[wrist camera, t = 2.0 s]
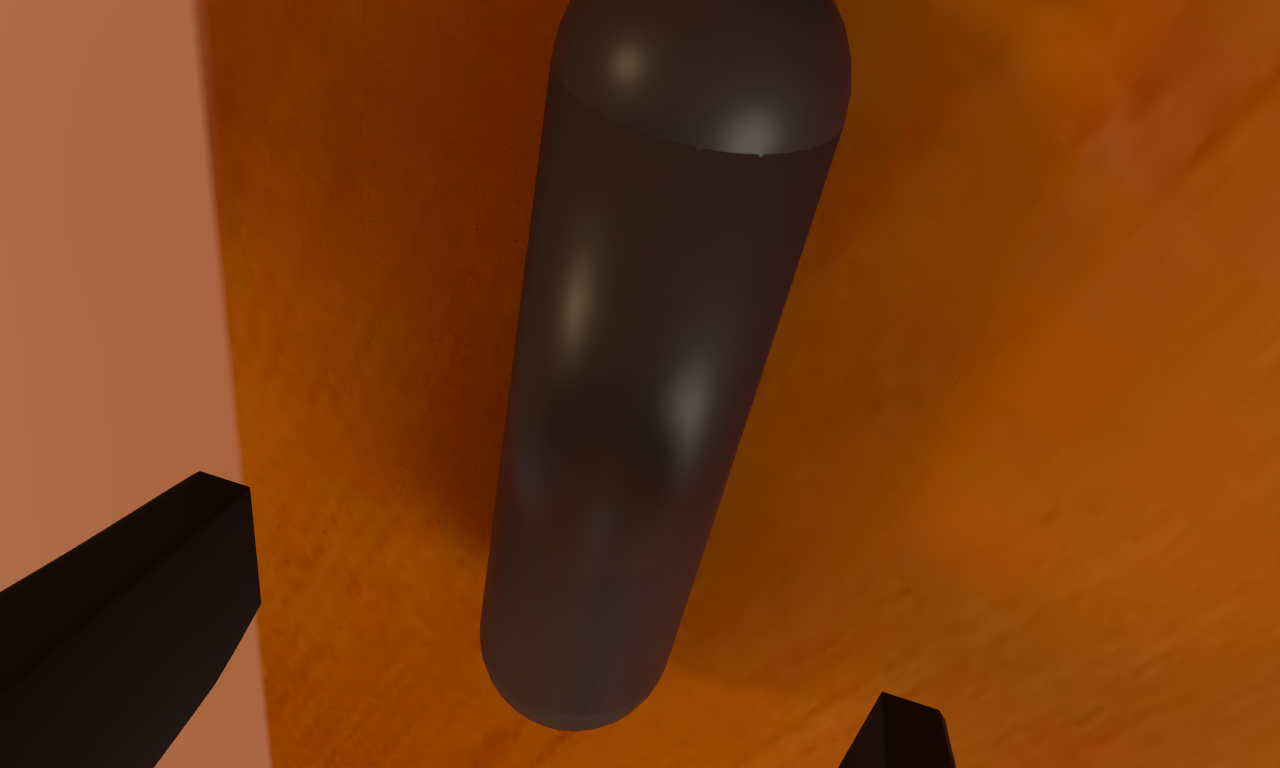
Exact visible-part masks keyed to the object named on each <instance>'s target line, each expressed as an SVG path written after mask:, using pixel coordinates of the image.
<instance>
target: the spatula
mask: <svg viewBox="0 0 1280 768" xmlns="http://www.w3.org/2000/svg"><path fill="white" fill-rule="evenodd" d="M850 95H851V56H850V50H849V45H848V40H847V34H846V29H845V25H844V23H843V20H842V18H841V16H840V13H839V11H838V9H837V6H836V4H835V1H834V0H570V3H569V5H568V7H567V9H566V11H565V13H564V16H563V18H562V20H561V22H560V24H559V27H558V31H557V36H556V40H555V44H554V49H553V53H552V58H551V64H550V72H549V80H548V88H547V96H546V104H545V112H544V120H543V128H542V136H541V144H540V152H539V160H538V168H537V176H536V184H535V192H534V200H533V208H532V216H531V224H530V232H529V240H528V248H527V256H526V264H525V272H524V279H523V287H522V295H521V303H520V311H519V319H518V327H517V335H516V343H515V351H514V359H513V367H512V375H511V383H510V391H509V399H508V407H507V415H506V423H505V431H504V439H503V447H502V455H501V463H500V471H499V479H498V487H497V495H496V502H495V510H494V518H493V526H492V534H491V542H490V550H489V558H488V566H487V574H486V582H485V590H484V598H483V606H482V614H481V624H480V642H481V649H482V656H483V660H484V663H485V665H486V668H487V670H488V673H489V675H490V678H491V680H492V683H493V684H494V686H495V687H496V689H497V690H498V692H499V693H500V695H501V696H502V697H503V698H504V699H505V700H506V701H507V702H508V703H509V704H510V705H511V706H512V707H513V708H514V709H515V710H516V711H518V712H519V713H521V714H522V715H524V716H525V717H527V718H528V719H530V720H531V721H533V722H536V723H538V724H540V725H543V726H545V727H549V728H553V729H557V730H563V731H583V730H591V729H596V728H599V727H602V726H605V725H608V724H611V723H614V722H616V721H618V720H620V719H621V718H623V717H625V716H627V715H628V714H629V713H631V712H632V711H633V710H634V709H635V708H636V707H637V706H639V705H640V704H641V703H642V702H643V701H644V700H645V699H646V698H647V697H648V696H649V695H650V693H651V692H652V690H653V689H654V688H655V686H656V685H657V683H658V681H659V679H660V677H661V675H662V673H663V671H664V669H665V667H666V664H667V661H668V658H669V655H670V652H671V649H672V646H673V643H674V640H675V637H676V634H677V631H678V628H679V625H680V622H681V619H682V616H683V613H684V610H685V607H686V603H687V600H688V597H689V594H690V591H691V588H692V585H693V582H694V579H695V576H696V573H697V570H698V567H699V564H700V561H701V558H702V555H703V552H704V549H705V546H706V543H707V540H708V536H709V533H710V530H711V527H712V524H713V521H714V518H715V515H716V512H717V509H718V506H719V503H720V500H721V497H722V494H723V491H724V488H725V485H726V482H727V479H728V476H729V473H730V470H731V466H732V463H733V460H734V457H735V454H736V451H737V448H738V445H739V442H740V439H741V436H742V433H743V430H744V427H745V424H746V421H747V418H748V415H749V412H750V409H751V406H752V403H753V400H754V396H755V393H756V390H757V387H758V384H759V381H760V378H761V375H762V372H763V369H764V366H765V363H766V360H767V357H768V354H769V351H770V348H771V345H772V342H773V339H774V336H775V333H776V329H777V326H778V323H779V320H780V317H781V314H782V311H783V308H784V305H785V302H786V299H787V296H788V293H789V290H790V287H791V284H792V281H793V278H794V275H795V272H796V269H797V266H798V263H799V259H800V256H801V253H802V250H803V247H804V244H805V241H806V238H807V235H808V232H809V229H810V226H811V223H812V220H813V217H814V214H815V211H816V208H817V205H818V202H819V199H820V196H821V193H822V189H823V186H824V183H825V180H826V177H827V174H828V171H829V168H830V165H831V162H832V159H833V156H834V153H835V150H836V147H837V144H838V141H839V138H840V135H841V132H842V129H843V126H844V122H845V118H846V113H847V109H848V104H849V99H850Z"/></svg>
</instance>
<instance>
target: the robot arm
mask: <svg viewBox="0 0 1280 768" xmlns="http://www.w3.org/2000/svg"><path fill="white" fill-rule="evenodd" d="M260 605H261V596H260V586H259V576H258V566H257V555H256V545H255V535H254V524H253V514H252V504H251V494H250V487H248V486H244V485H241V484H238V483H235V482H232V481H229V480H226V479H223V478H220V477H216V476H214V475H210V474H207V473H204V472H201V471H199V472H197V473H195V474H193V475H191V476H190V477H188V478H186V479H185V480H183V481H182V482H180V483H178V484H177V485H175V486H174V487H172V488H170V489H168V490H167V491H165V492H164V493H162V494H161V495H159V496H157V497H156V498H154V499H152V500H151V501H149V502H148V503H146V504H145V505H143V506H141V507H140V508H138V509H136V510H135V511H133V512H132V513H130V514H129V515H127V516H125V517H124V518H122V519H120V520H119V521H117V522H116V523H114V524H112V525H111V526H109V527H108V528H106V529H105V530H103V531H101V532H99V533H98V534H96V535H95V536H93V537H91V538H90V539H88V540H86V541H85V542H83V543H82V544H80V545H78V546H77V547H75V548H73V549H72V550H70V551H69V552H67V553H65V554H64V555H62V556H60V557H59V558H57V559H55V560H54V561H52V562H50V563H48V564H47V565H45V566H43V567H42V568H40V569H38V570H37V571H35V572H33V573H32V574H30V575H28V576H27V577H25V578H23V579H21V580H20V581H18V582H16V583H15V584H13V585H11V586H10V587H8V588H6V589H5V590H3V591H1V592H0V768H154V767H155V765H156V764H157V763H158V761H159V760H160V759H161V757H162V756H163V754H164V753H165V752H166V750H167V749H168V748H169V746H170V745H171V744H172V742H173V741H174V740H175V738H176V737H177V736H178V734H179V733H180V731H181V730H182V729H183V727H184V726H185V725H186V723H187V722H188V721H189V719H190V718H191V717H192V715H193V714H194V712H195V711H196V710H197V708H198V707H199V706H200V704H201V703H202V701H203V700H204V699H205V697H206V696H207V694H208V693H209V692H210V690H211V689H212V688H213V686H214V685H215V683H216V682H217V680H218V678H219V677H220V675H221V673H222V671H223V670H224V668H225V666H226V665H227V663H228V661H229V660H230V658H231V656H232V655H233V653H234V651H235V649H236V648H237V646H238V644H239V642H240V641H241V639H242V637H243V635H244V633H245V632H246V630H247V628H248V626H249V624H250V623H251V621H252V619H253V617H254V615H255V614H256V612H257V610H258V608H259V606H260ZM838 768H956V765H955V761H954V757H953V753H952V748H951V744H950V740H949V736H948V731H947V727H946V722H945V719H944V717H943V716H942V714H941V712H940V711H939V710H937V709H934V708H931V707H928V706H925V705H922V704H919V703H916V702H912V701H909V700H906V699H903V698H900V697H897V696H894V695H891V694H888V693H885V692H882V693H881V694H880V696H879V698H878V700H877V701H876V703H875V705H874V706H873V708H872V710H871V712H870V713H869V715H868V717H867V719H866V720H865V722H864V724H863V726H862V727H861V729H860V731H859V733H858V734H857V736H856V738H855V739H854V741H853V743H852V745H851V746H850V748H849V750H848V752H847V753H846V755H845V757H844V759H843V760H842V762H841V764H840V766H839V767H838Z"/></svg>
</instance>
